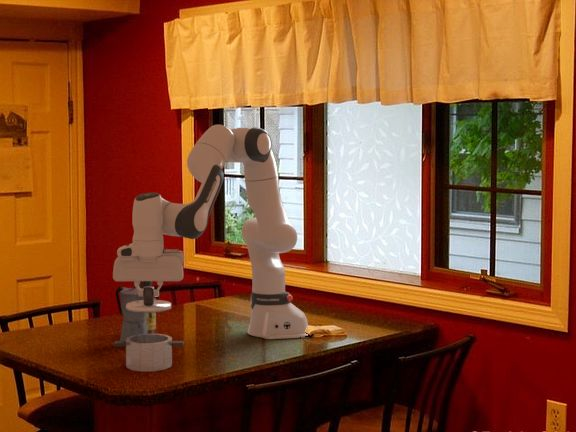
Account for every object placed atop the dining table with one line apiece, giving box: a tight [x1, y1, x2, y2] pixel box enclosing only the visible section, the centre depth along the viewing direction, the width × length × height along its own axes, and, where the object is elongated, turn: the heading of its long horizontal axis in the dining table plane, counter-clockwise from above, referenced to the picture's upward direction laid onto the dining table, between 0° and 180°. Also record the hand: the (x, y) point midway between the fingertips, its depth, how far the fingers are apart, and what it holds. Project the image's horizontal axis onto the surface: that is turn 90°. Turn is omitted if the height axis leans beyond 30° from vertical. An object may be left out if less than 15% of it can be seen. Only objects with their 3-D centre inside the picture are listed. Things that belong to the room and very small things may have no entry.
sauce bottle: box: [140, 281, 157, 334], centre depth 316 cm, size 6×6×20 cm
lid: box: [126, 285, 172, 313], centre depth 274 cm, size 13×13×6 cm
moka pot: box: [115, 282, 147, 341], centre depth 301 cm, size 10×15×20 cm, turn 58°
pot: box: [113, 333, 185, 372], centre depth 276 cm, size 20×13×8 cm, turn 93°
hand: (148, 296), depth 274 cm, fingers closed on lid, 3 cm apart
